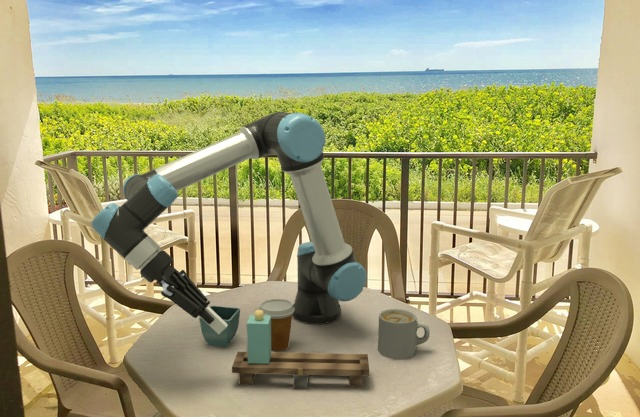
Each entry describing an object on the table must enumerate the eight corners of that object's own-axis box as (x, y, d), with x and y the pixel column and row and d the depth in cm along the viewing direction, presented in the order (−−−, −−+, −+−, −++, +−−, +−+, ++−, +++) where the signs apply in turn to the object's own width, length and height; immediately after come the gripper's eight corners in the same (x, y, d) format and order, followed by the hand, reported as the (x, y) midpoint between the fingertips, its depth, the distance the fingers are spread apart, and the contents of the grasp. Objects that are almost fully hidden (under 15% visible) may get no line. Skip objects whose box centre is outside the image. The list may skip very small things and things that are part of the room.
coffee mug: (375, 356, 150) (376, 320, 148) (380, 340, 159) (381, 306, 157) (427, 362, 147) (428, 326, 145) (429, 346, 156) (431, 311, 154)
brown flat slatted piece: (232, 387, 134) (231, 368, 133) (238, 369, 143) (238, 350, 142) (368, 390, 133) (369, 371, 132) (367, 371, 142) (367, 353, 141)
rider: (247, 368, 135) (246, 315, 132) (251, 358, 140) (249, 307, 137) (269, 369, 135) (268, 315, 132) (271, 359, 140) (270, 307, 137)
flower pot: (230, 351, 152) (229, 320, 150) (199, 348, 154) (198, 317, 152) (241, 337, 161) (240, 307, 159) (212, 335, 162) (210, 305, 160)
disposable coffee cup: (299, 341, 158) (299, 300, 156) (286, 356, 150) (286, 313, 147) (268, 336, 161) (267, 296, 159) (253, 351, 153) (252, 308, 150)
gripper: (148, 262, 140) (218, 328, 142) (129, 279, 127) (206, 351, 130) (169, 241, 138) (239, 308, 141) (152, 257, 126) (229, 330, 128)
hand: (223, 329), depth 135 cm, fingers closed
